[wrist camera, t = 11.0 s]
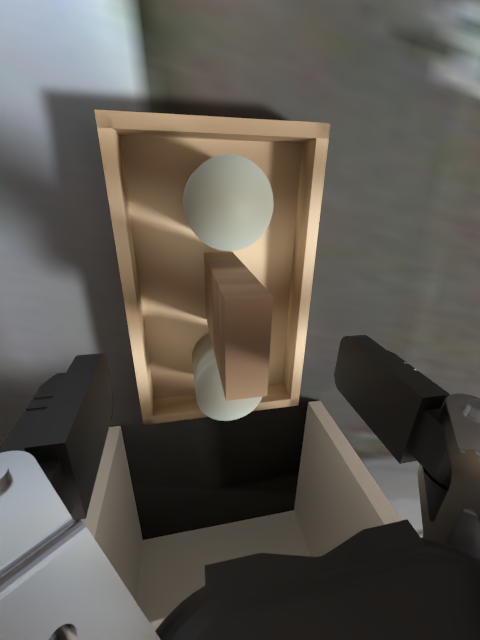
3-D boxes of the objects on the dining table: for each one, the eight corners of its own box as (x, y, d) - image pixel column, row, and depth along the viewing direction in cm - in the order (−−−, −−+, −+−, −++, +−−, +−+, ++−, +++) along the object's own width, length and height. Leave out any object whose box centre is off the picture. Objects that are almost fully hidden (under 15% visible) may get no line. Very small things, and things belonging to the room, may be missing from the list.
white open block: (132, 549, 26) (97, 840, 14) (105, 427, 20) (12, 743, 9) (302, 515, 29) (387, 733, 17) (320, 400, 23) (463, 609, 12)
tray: (107, 122, 14) (22, 39, 6) (308, 132, 16) (434, 78, 8) (146, 399, 20) (129, 525, 13) (285, 383, 22) (344, 485, 14)
